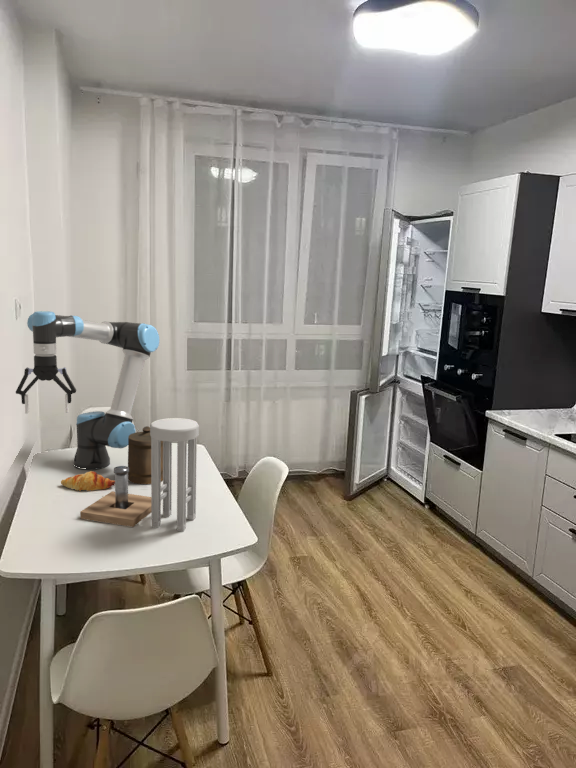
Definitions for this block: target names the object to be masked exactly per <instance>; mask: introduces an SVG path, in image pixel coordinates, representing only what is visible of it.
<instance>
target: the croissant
mask: <svg viewBox="0 0 576 768" xmlns="http://www.w3.org/2000/svg"><path fill="white" fill-rule="evenodd" d="M60 484H61V485H62V486H64V487H65V488H68V489H70V488H71V489H70V490H73V489H75V490H74V491H78V490H79V492H80V491H81V490H87V491H86V492H91V491H92V492H93V491H98V490H106V489H109V488H111V487H113V486H115V479H114V480H112V479H110V478H108V477H104V476H103V475H102V474H98V473H97V472H96V471H92V470H89V471H86V472H85V473H80V474H76V475H73V476H70V477H66V478H64V479H61V481H60ZM90 490H91V491H90ZM81 492H82V491H81Z"/></svg>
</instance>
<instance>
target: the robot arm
mask: <svg viewBox="0 0 576 768" xmlns="http://www.w3.org/2000/svg"><path fill="white" fill-rule="evenodd" d="M26 324H27V327H28V329H29V331H31V332H32V341H33V343H32V344H33V366H34V367H33V368H30V367H26V368H24V374H23V377H22V378H21V380H20V383H19V384H18V386H17V388H16V391H15V394H16V395H20V397H21V404H22V405H24V411H25V412H24V414H26V415H27V414H28V413H29V412H30V410H29V409H30V408H29V393H28V394H27V392H29V391H30V390H31V388H32V387H33V386H34V385H35V384H36V383H37V382H38V380H39V381H41V382H43V381H49V382H50V381H54V382H55V383H56V384H57V385H58V386H59V388H61V389H62V390H63V391H64V393H65V394H64V399H65V401H64V402H65V403H64V407H65V408H64V409H65V413H69V411H70V410H69V404H71V403H72V395H73V394H76V392H77V389H76V387H75V385H74V383H73V382H72V379H71V378H70V377H69V375H68V373H67V367H65V366H64V367H62V368H58V362H57V361H58V359H57V357H58V356H57V355H56V354H57V338H62V337H63V338H64V337H68V338H76V339H85V340H91V341H99V342H100V343H101V344H104V345H105V344H106V345H110V346H112V347H113V346H114V347H117V348H121V349H122V352H123V354H124V358H123V361H122V364H121V365H122V366H121V369H120V373H119V376H118V379H117V384H116V386H115V391H114V394H113V398H112V402H111V405H110V408H109V409H108V410H107V411H97V410H96V411H90V412H88V411H87V412H83V413H81V414H78V415H77V416H76V424H75V425H76V445H77V448H76V451H75V454H74V458H73V461H72V462H73V464H74V465H75V466H77V467H80V468H86V469H93V470H97V469H96V468H100V469H103V468H102V467H104V468H106V467H108V466H109V465H110V464H111V456H110V455H109V452H108V449H107V447H110V448H113V449H126V448H127V447H128V437H129V435H130V434H133V433H136V431H137V430H136V426H135V424H134V423H133V421H134V418H133V416H132V411H133V407H134V403H135V400H136V399H135V398H136V396H137V392H138V389H139V385H140V384H139V383H140V380H141V376H142V373H143V369H144V365H145V361H146V360H148V359H149V358H150V357H151V353H154V352H156V350H157V349H158V348H159V346H160V334H159V333H158V330H157V329H156V327H155V326H153V325H151V324H147V323H143V322H142V323H140V322H139V323H138V322H137V323H136V322H128V321H118V322H117V321H116V322H115V321H102V322H97V321H90V320H84V319H82V317H80V316H78V315H60V314H59V315H58V314H56V313H55V312H54V311H51V310H50V311H48V310H46V311H43V310H41V311H37V310H36V311H34V312H33V313H31V314H30V315H29V316H28V318H27V322H26ZM32 373H33V374H34V375H35V377H34V378H33V379H32V380H31V381H30V382H29V384H28V385H27V386H26V387H25V388H24V389H23V386H24V385H25V383H26V382H27V379H28V378H29V377H28V376H29V375H31V374H32ZM58 373H60V375H62V376H63V378H64V379H65V382H66V383H67V385H68V387H67V385H66V384H65V383H64V382H63V381H62V379H60V378H59V376H58V375H57V374H58ZM22 389H23V390H22ZM74 465H73V466H74Z"/></svg>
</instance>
